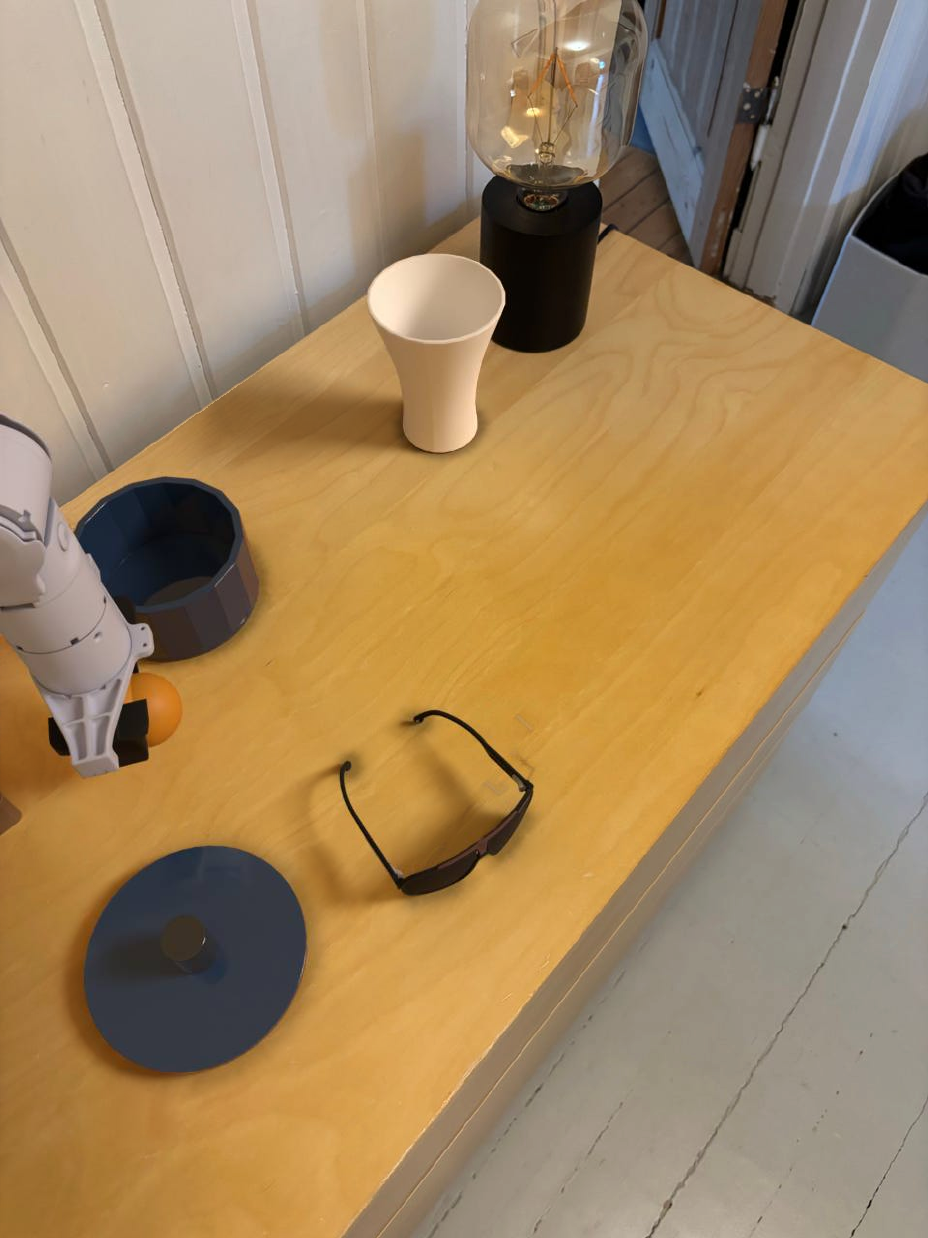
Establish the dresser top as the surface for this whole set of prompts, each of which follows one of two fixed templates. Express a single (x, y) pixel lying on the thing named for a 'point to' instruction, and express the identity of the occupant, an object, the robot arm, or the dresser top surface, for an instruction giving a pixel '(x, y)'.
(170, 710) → the orange banded oval part
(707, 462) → the dresser top surface
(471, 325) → the cup
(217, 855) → the lid
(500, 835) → the sunglasses
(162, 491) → the pot
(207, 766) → the dresser top surface
